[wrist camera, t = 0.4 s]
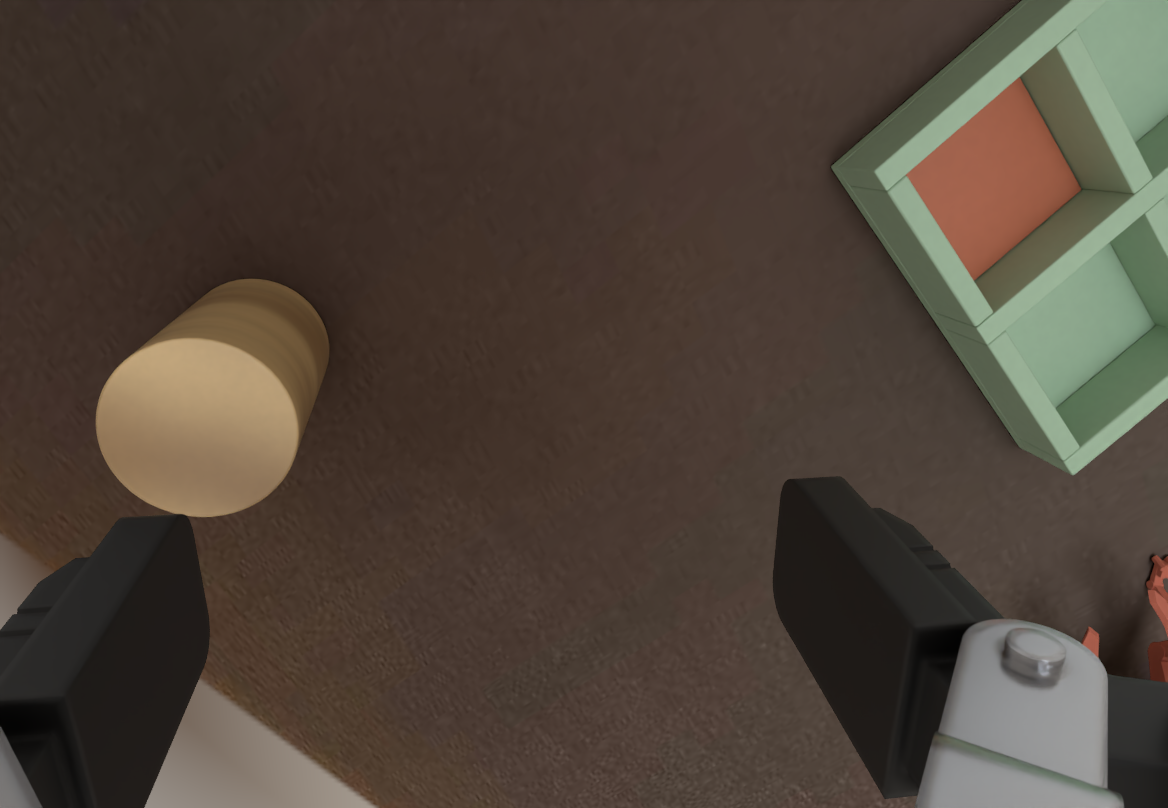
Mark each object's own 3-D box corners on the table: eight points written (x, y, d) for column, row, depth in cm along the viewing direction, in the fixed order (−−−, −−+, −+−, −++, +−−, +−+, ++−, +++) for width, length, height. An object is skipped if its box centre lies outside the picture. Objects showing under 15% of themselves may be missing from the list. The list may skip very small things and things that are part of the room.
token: (205, 257, 26) (122, 310, 19) (347, 306, 28) (323, 374, 20) (167, 388, 27) (73, 488, 20) (306, 430, 29) (268, 538, 21)
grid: (829, 166, 29) (873, 171, 26) (1160, -122, 28) (1243, -149, 25) (1018, 447, 34) (1073, 476, 31) (1306, 209, 33) (1389, 217, 30)
